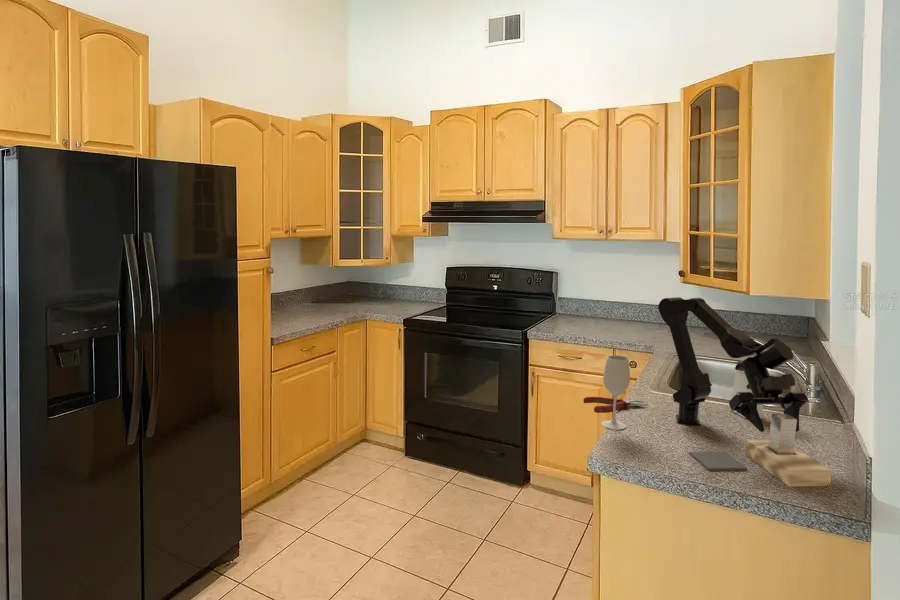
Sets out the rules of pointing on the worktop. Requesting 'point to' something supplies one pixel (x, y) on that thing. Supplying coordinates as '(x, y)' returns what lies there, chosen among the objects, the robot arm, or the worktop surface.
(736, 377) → the skincare box
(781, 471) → the wooden block with hole
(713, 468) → the rubber mat
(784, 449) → the steel bar
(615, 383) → the wineglass
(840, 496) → the worktop surface
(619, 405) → the pliers
